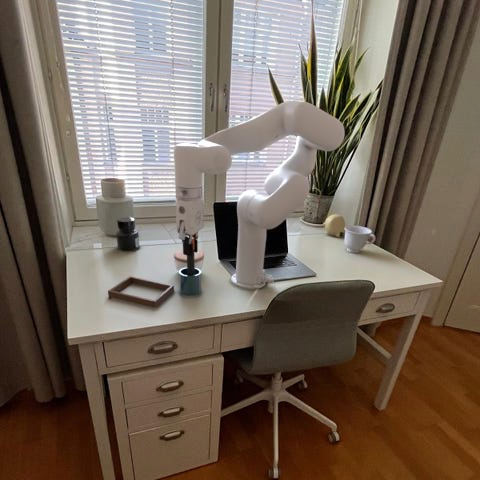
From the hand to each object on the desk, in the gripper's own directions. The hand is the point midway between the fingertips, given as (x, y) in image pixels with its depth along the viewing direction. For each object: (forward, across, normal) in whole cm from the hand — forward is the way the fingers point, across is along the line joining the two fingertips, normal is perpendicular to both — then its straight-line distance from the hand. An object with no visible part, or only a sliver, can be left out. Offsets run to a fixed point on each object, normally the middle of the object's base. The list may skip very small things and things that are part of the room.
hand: (190, 252), depth 109 cm
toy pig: (+15, +88, -39) cm, 97 cm away
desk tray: (+14, -9, +13) cm, 21 cm away
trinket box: (+14, +13, +7) cm, 20 cm away
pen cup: (+14, 0, 0) cm, 14 cm away
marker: (+9, 0, 0) cm, 9 cm away
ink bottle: (+14, +26, +41) cm, 50 cm away
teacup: (+15, +68, -51) cm, 86 cm away
